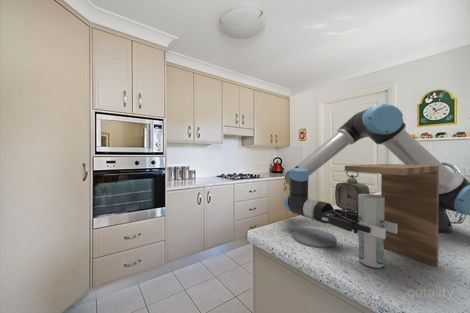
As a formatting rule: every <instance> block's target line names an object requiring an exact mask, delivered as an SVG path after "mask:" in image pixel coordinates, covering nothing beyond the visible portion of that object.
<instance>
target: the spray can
mask: <svg viewBox="0 0 470 313" xmlns="http://www.w3.org/2000/svg"><path fill="white" fill-rule="evenodd" d="M384 204H385V198H384V197H383V196H381V194H380V195H379V194H373V193H372V194H371V193H370V194H359V195H358V224H359V222H363V223H367V224H371V225H374V226H378V227H381V228H384ZM358 260H359V262H360V263H361V264H363V265H365V266H367V267H371V268H375V269H377V268H378V269H380V268H383V267H384V265H385V262H384V260H385V249H384V239H382V238H379V237H376V236H373V235H370V234H366V233H363V232H360V231H359V230H358Z"/></svg>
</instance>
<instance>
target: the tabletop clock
mask: <svg viewBox="0 0 470 313" xmlns="http://www.w3.org/2000/svg"><path fill="white" fill-rule="evenodd" d="M348 173H349V171H345V174H346V176H347V177H349V178H348V179H347V180H346V182H338V183H336V185H335V190H334V198H335V204H336V206H337V207H338V209H340V210H342V211H343V209H346V210H349V211H353V212H358V195H359V194H371V192H370V188H369V186H368V185H366V184H364V183H360V182H358V179H357V177H359V175H360V174H359V172H356V173H357V175H354V174H351V175H349V174H348Z"/></svg>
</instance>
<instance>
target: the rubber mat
mask: <svg viewBox="0 0 470 313" xmlns="http://www.w3.org/2000/svg"><path fill="white" fill-rule="evenodd" d="M292 238H293V239H294V241H295V242H297V243H299V244H301V245H303V246H307V247H312V248H319V249H327V248H332V247H335V246H336V245H337V242H338V240H337V237H336V236H335V235H334V234H333V233H331V232H329V231H326V230H323V229H322V230H321V229H318V228H313V227H310V228H309V227H301V228H298V229H297V228H296V229H295V230H294V231H292Z"/></svg>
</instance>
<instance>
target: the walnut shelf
mask: <svg viewBox="0 0 470 313" xmlns="http://www.w3.org/2000/svg"><path fill="white" fill-rule="evenodd" d="M347 171H348V172H354V173H357V172H358V173H367V174H377V175H378V174H381V180H380V181H381V184H380V186H381V187H380V188H381V190H380V191H381V192H380V193H381V194H380V196H383V197H384V198H385V204H384V221H388V222H392V223H396V224H397V234H395V233H392V232H388V231H386V239H384V250H386V251H391V252H393V253H396V254H398V255H402V256H405V257H406V258H409V259H412V260H416V261H419V262H421V263H424V264H426V265H430V266H431V267H432V266H433V267H435V268H437V267H438V266H439V232H438V200H439V166H435V165H405V164H404V163H403V164H402V163H398V164H397V163H378V164H377V163H376V164H375V163H374V164H357V165H356V164H354V165H353V164H351V165H344V172H347Z"/></svg>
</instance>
